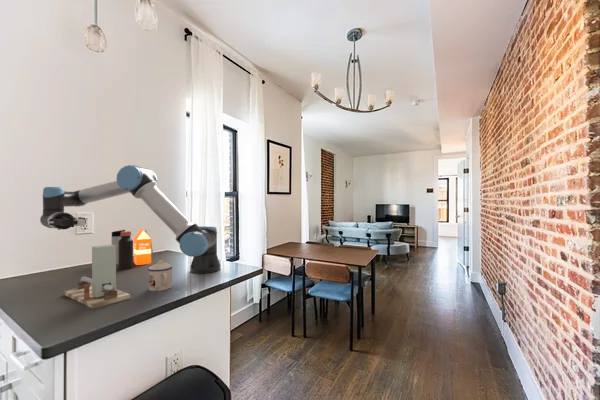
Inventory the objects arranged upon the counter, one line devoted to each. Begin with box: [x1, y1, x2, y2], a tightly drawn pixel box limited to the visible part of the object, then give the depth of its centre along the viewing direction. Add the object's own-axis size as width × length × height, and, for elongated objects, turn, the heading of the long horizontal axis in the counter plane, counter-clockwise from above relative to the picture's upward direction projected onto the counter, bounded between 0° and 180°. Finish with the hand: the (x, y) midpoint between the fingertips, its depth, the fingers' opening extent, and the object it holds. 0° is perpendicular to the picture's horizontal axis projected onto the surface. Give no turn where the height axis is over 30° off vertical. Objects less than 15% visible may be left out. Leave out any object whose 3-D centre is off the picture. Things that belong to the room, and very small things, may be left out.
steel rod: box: [80, 275, 114, 292], centre depth 107 cm, size 24×2×2 cm, turn 57°
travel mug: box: [111, 229, 126, 267], centre depth 161 cm, size 6×7×20 cm
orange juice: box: [133, 228, 152, 266], centre depth 165 cm, size 8×9×20 cm
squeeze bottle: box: [144, 229, 154, 257], centre depth 178 cm, size 8×8×18 cm
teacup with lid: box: [147, 259, 173, 292], centre depth 116 cm, size 12×9×12 cm
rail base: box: [63, 281, 131, 309], centre depth 107 cm, size 26×12×6 cm, turn 57°
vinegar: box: [118, 230, 134, 271], centre depth 152 cm, size 7×7×20 cm
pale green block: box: [91, 244, 117, 297], centre depth 104 cm, size 4×6×18 cm, turn 147°
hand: (83, 222), depth 114 cm, fingers closed
